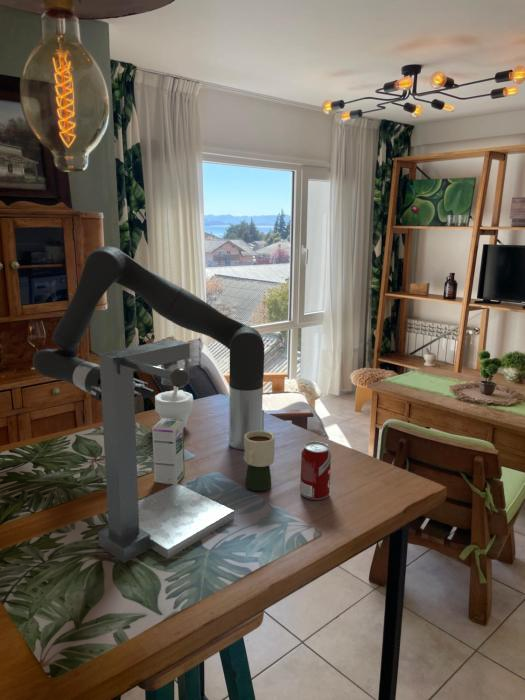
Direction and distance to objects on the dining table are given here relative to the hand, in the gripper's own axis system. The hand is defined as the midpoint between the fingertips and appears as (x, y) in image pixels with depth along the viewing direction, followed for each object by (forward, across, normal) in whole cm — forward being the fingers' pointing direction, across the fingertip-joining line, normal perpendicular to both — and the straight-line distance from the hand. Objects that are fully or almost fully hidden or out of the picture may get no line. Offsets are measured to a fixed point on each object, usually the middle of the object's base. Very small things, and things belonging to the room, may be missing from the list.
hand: (141, 398), depth 127 cm
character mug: (+32, +8, +14) cm, 36 cm away
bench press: (+28, -17, +16) cm, 37 cm away
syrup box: (+12, 0, +17) cm, 21 cm away
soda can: (+44, +12, +12) cm, 48 cm away
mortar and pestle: (-10, +27, +19) cm, 34 cm away
